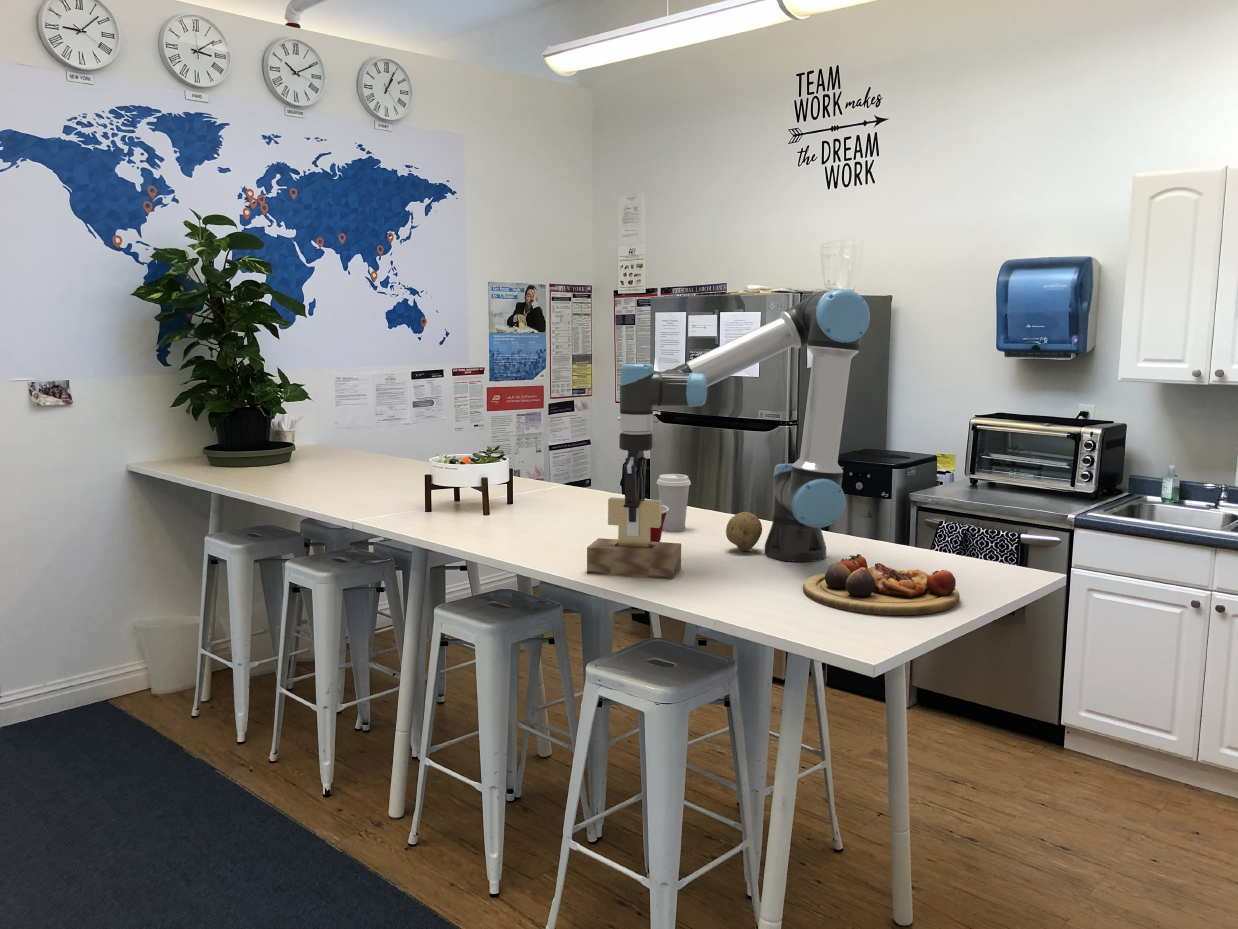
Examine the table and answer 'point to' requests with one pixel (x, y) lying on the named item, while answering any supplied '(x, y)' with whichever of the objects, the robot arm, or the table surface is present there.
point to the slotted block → (634, 559)
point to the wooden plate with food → (882, 589)
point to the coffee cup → (674, 500)
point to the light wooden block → (647, 520)
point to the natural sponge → (744, 530)
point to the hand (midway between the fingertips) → (634, 533)
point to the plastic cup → (657, 532)
